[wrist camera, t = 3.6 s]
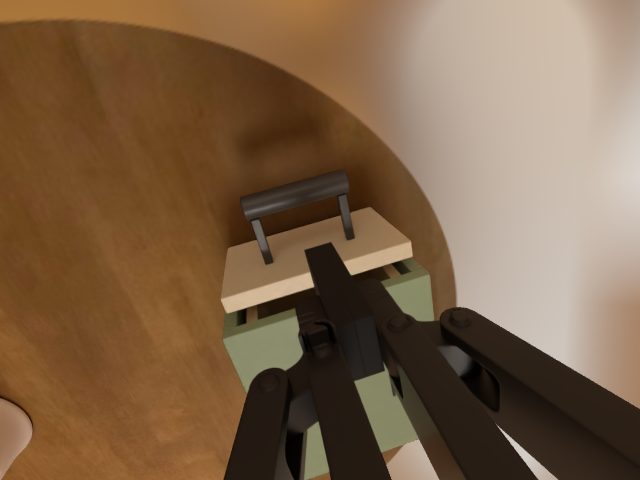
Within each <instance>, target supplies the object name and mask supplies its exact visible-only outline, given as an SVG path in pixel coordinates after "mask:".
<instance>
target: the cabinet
mask: <svg viewBox="0 0 640 480" xmlns="http://www.w3.org/2000/svg"><path fill="white" fill-rule="evenodd" d="M391 264H392V265H393V266H394V267H395V269H396V270H397V271H398V272H399V273H400V274H401V275H400V276H397V277H393V278H390V279H387V280H384V281H381V283H382V284H383V285H384V287H385V288H386V290H387V291H388V292H389V294H390V295H391V296H392V298H393V299H394V300H395V302H396V303H397V304H398V306H399V307H400V308H401V310H402V311H403V313H406V314H409V315H411V316H412V317H413V318H415V319H416V320H417V321H434V314H433V303H432V293H431V283H430V274H429V273H428V272H427V271H426V270H425V269H424V268H423V267H422V266H421V265H419V264H418V263H417V262H416V261H415V260H414V259H413V258H412V257H410V258H406V259H403V260H400V261H397V262H393V263H391ZM299 330H300V329H299V325H298V320H297V316H296V311H295V308H294V309H291V310H288V311H285V312H282V313H278V314H275V315H272V316H269V317H266V318H262V319H259V320H256V321H253V322H250V323H247V308H244V309H241V310H238V311H235V312H231V313H226V311H225V318H224V327H223V337H222V340H223V342H224V345H225V347H226V349H227V351H228V353H229V356H230V358H231V360H232V362H233V364H234V367H235V369H236V371H237V373H238V375H239V378H240V380H241V382H242V384H243V386H244V389H245V391H246V393H248V390H249V386H250V384H251V382H252V380H253V379H254V378H255V376H256V375H257V374H259V373H260V372H262V371H263V370H265V369H269V368H272V367H274V368H281V369H283V370H285V371H286V370H287V369H289V368H290V367H292V366H293V365H294V364H296V363H297V362H298V361H299V360H300V358H301V356H302V354H303V351H302V348H301V345H300V342H299V339H298V332H299ZM384 368H385V371H384V372H381V373H378V374H375V375H372V376H369V377H366V378H363V379H360V380H357V381H354V382H355V385H356V387H357V390H358V393H359V395H360V398H361V401H362V403H363V406H364V408H365V411H366V414H367V416H368V419H369V422H370V424H371V427H372V429H373V432H374V435H375V437H376V440H377V443H378V445H379V448H380V450H381V453H382V452H385V451H387V450H390V449H393V448H396V447H398V446H401V445H404V444H407V443H409V442H412V441H415V440H417V439H419V438H418V436H417V434H416V432H415V430H414V428H413V426H412V424H411V422H410V420H409V418H408V416H407V414H406V412H405V410H404V408H403V406H402V404H401V402H400V400H399V398H398V396H397V394H396V396H394V397H393V394H392V389H391V384H390V378H389V373H388V370H387V368H386V366H385V364H384ZM395 393H396V392H395ZM307 432H308V434H307V448H306V461H305V475H304V480H308V479H310V478H313V477H316V476H319V475H321V474H324V473H327V472H329V467H328V463H327V458H326V454H325V449H324V445H323V440H322V436H321V431H320V426H319V422H317V423H315V424H314V425H313V426H311V427H310V428H309V429H307Z"/></svg>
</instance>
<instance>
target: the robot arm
mask: <svg viewBox="0 0 640 480" xmlns="http://www.w3.org/2000/svg"><path fill="white" fill-rule="evenodd" d="M304 252H305V255H306V259H307V263H308V266H309V270H310V273H311V277H312V281H313V284H314V288H315V291H316V294H317V296H314V297H311V298H307V299H304V300H301V301H298V303H297V306H296V308H295V311H296V316H297V320H298V325H299V329H300V330H299V332H298V339H299V342H300V345H301V348H302V351H303V354H302V356H301V358H300V360H299V361H298V362H297V363H296V364H294V365H293V366H292V367H290V368H289V369H287V370H286V371H285V370H283V369H281V368H274V367H272V368H269V369H265V370H263V371H262V372H260V373H259V374H257V375H256V376H255V378H254V379H253V380H252V382H251V384H250V386H249V390H248V393H247V397H246V401H245V404H244V408H243V411H242V415H241V419H240V422H239V426H238V429H237V433H236V437H235V440H234V444H233V447H232V451H231V455H230V458H229V462H228V465H227V469H226V473H225V476H224V480H304V475H305V461H306V448H307V434H308V432H307V429H309V428H310V427H311V426H313V425H314V424H315V423H317V422H319V426H320V431H321V436H322V440H323V445H324V449H325V454H326V458H327V463H328V467H329V472H330V477H331V480H392V479H391V477H390V474H389V471H388V469H387V466H386V464H385V461H384V458H383V456H382V453H381V450H380V448H379V445H378V443H377V440H376V437H375V435H374V432H373V429H372V427H371V424H370V422H369V419H368V416H367V414H366V411H365V408H364V406H363V403H362V401H361V398H360V395H359V393H358V390H357V387H356V385H355V382H354V381H357V380H360V379H363V378H366V377H369V376H372V375H375V374H378V373H381V372H384V371H385V368H384V364H385V366H386V368H387V370H388V373H389V378H390V384H391V389H392V394H393V397H394V396H396V394H397V396H398V398H399V400H400V402H401V404H402V406H403V408H404V410H405V412H406V414H407V416H408V418H409V420H410V422H411V424H412V426H413V428H414V430H415V432H416V434H417V436H418V438H419V440H420V442H421V444H422V446H423V448H424V450H425V451H426V454H427V456H428V458H429V460H430V462H431V464H432V466H433V468H434V470H435V472H436V474H437V476H438V478H439V480H538V479H537V478H536V476H535V475H534V474H533V472H532V471H531V470H530V468H529V467H528V466H527V464H526V463H525V462H524V461H523V459H522V458H521V457H520V455H519V454H518V453H517V451H516V450H515V449H514V447H513V446H512V445H511V444H510V442H509V441H508V440H507V438H506V437H505V436H504V434H503V433H502V432H501V430H500V429H499V428H498V426H499V427H500V428H501V429H502V430H503V431H504V432H505V433H507V434H508V435H509V436H510V437H511V438H512V439H513V440H514V441H516V442H517V443H518V444H519V445H520V446H521V447H522V448H523V449H524V450H526V451H527V452H528V453H529V454H530V455H531V456H532V457H534V458H535V459H536V460H537V461H538V462H539V463H540V464H541V465H542V466H544V467H545V468H546V469H547V470H548V471H549V472H550V473H551V474H553V475H554V476H555V477H556V478H557V479H558V480H640V409H639V408H637V407H635V406H634V405H632V404H630V403H629V402H627V401H625V400H623V399H622V398H620V397H618V396H617V395H615V394H613V393H612V392H610V391H608V390H607V389H605V388H603V387H601V386H600V385H598V384H596V383H595V382H593V381H591V380H590V379H588V378H586V377H585V376H583V375H581V374H579V373H577V372H576V371H574V370H573V369H571V368H569V367H568V366H566V365H564V364H563V363H561V362H559V361H557V360H556V359H554V358H553V357H551V356H549V355H547V354H546V353H544V352H542V351H541V350H539V349H537V348H536V347H534V346H532V345H530V344H529V343H527V342H526V341H524V340H522V339H520V338H519V337H517V336H515V335H514V334H512V333H510V332H509V331H507V330H505V329H504V328H502V327H500V326H499V325H497V324H495V323H493V322H492V321H490V320H488V319H487V318H485V317H483V316H482V315H480V314H478V313H477V312H475V311H473V310H470V309H468V308H461V307H455V308H450V309H447V310H445V311H444V312H443V313H442V314H441V316H440V320H439V321H417V320H416V319H415V318H413V317H412V316H411V315H409V314H406V313H403V311H402V310H401V308H400V307H399V306H398V304H397V303H396V302H395V300H394V299H393V298H392V296H391V295H390V294H389V292H388V291H387V290H386V288H385V287H384V285H383V284H382V283H381V282H380V281H378V280H376V279H374V278H369V279H366V280H363V281H360V282H356V283H355V281H354V279H353V278H352V276H351V274H350V273H349V271H348V269H347V267H346V266H345V264H344V262H343V261H342V259H341V257H340V256H339V254H338V252H337V251H336V249H335V247H334V246H333V244H332V242H329V243H326V244H322V245H319V246H316V247H312V248H309V249H305V250H304ZM395 392H396V393H395ZM497 425H498V426H497Z"/></svg>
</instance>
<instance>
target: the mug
mask: <svg viewBox="0 0 640 480" xmlns="http://www.w3.org/2000/svg"><path fill="white" fill-rule="evenodd" d="M32 432H33V429H32V424H31V421H30V419H29V417H28V416H27V415H26V414H25V412H24V411H23V410H21V409H20V408H19V407H17V406H16V405H14V404H13V403H11V402H9V401H6V400H4V399H1V398H0V480H1V479H2V477H3V476H4V474H5V473H6V471H7V470H8V468H9V467H10V465H11V464H12V462H13V461H14V460H15V458H16V457H17V456H18V454H19V453H20V452H21V451H22V450H23V449H24V448H25V447H26V446H27V445H28V443H29V441H30V439H31V437H32Z"/></svg>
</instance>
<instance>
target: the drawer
mask: <svg viewBox="0 0 640 480" xmlns="http://www.w3.org/2000/svg"><path fill="white" fill-rule="evenodd" d="M348 192H349V181H348V178H347V175H346V173H345V171H344V170H343V169H340V170H337V171H333V172H329V173H326V174H322V175H318V176H315V177H311V178H308V179H304V180H300V181H297V182H293V183H289V184H286V185H282V186H279V187H275V188H271V189H268V190H264V191H261V192H257V193H253V194H250V195H246V196H242V197H240V203H241V207H242V210H243V213H244V216H245V218H246V220H247V221H249V220H251V224H252V227H253V230H254V233H255V236H256V239H257V240H254V241H251V242H247V243H244V244H240V245H237V246H234V247H230V248H228V251H227V258H226V265H225V272H224V279H223V286H222V293H221V302H222V304H223V306H224V308H225V311H226V313H231V312H235V311H238V310H241V309H244V308H247V323H250V322H253V321H256V320H259V319H262V318H266V317H269V316H272V315H275V314H278V313H282V312H285V311H288V310H291V309H294V308H296V306H297V303H298V301H301V300H304V299H307V298H311V297H314V296H317V294H316V291H315V288H314V284H313V281H312V277H311V273H310V270H309V266H308V263H307V259H306V255H305V252H304V250H305V249H309V248H312V247H316V246H319V245H322V244H326V243H329V242H332V244H333V246H334V247H335V249H336V251H337V252H338V254H339V256H340V257H341V259H342V261H343V262H344V264H345V266H346V267H347V269H348V271H349V273H350V274H351V276H352V278H353V279H354V281H355V283H356V282H360V281H363V280H366V279H369V278H374V279H376V280H378V281H380V282H381V281H384V280H387V279H390V278H393V277H397V276H400V275H401V274H400V273H399V272H398V271H397V270H396V269H395V267H394V266H393V265H392V264H391V263H393V262H397V261H400V260H403V259H406V258H410V257H412V256H413V255H412V246H411V241H410V240H409V239H408V238H406V237H405V236H404V235H403V234H402V233H400V232H399V231H398V230H397V229H396V228H395V227H393V226H392V225H391V224H390V223H389V222H387V221H386V220H385V219H384V218H383V217H382V216H380V215H379V214H378V213H377V212H376V211H374V210H373V209H372V208H371V207H368V208H365V209H361V210H358V211H354V212H351V213H350V210H349V205H348V200H347V195H346V193H348ZM334 196H337V201H338V206H339V210H340V216H337V217H334V218H330V219H327V220H323V221H320V222H316V223H313V224H309V225H306V226H303V227H299V228H296V229H292V230H289V231H285V232H282V233H278V234H275V235H271V236H268V237H266V236H265V233H264V230H263V226H262V223H261V220H260V217H263V216H267V215H270V214H274V213H277V212H281V211H284V210H288V209H292V208H295V207H299V206H302V205H306V204H309V203H313V202H316V201H320V200H323V199H327V198H330V197H334Z"/></svg>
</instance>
